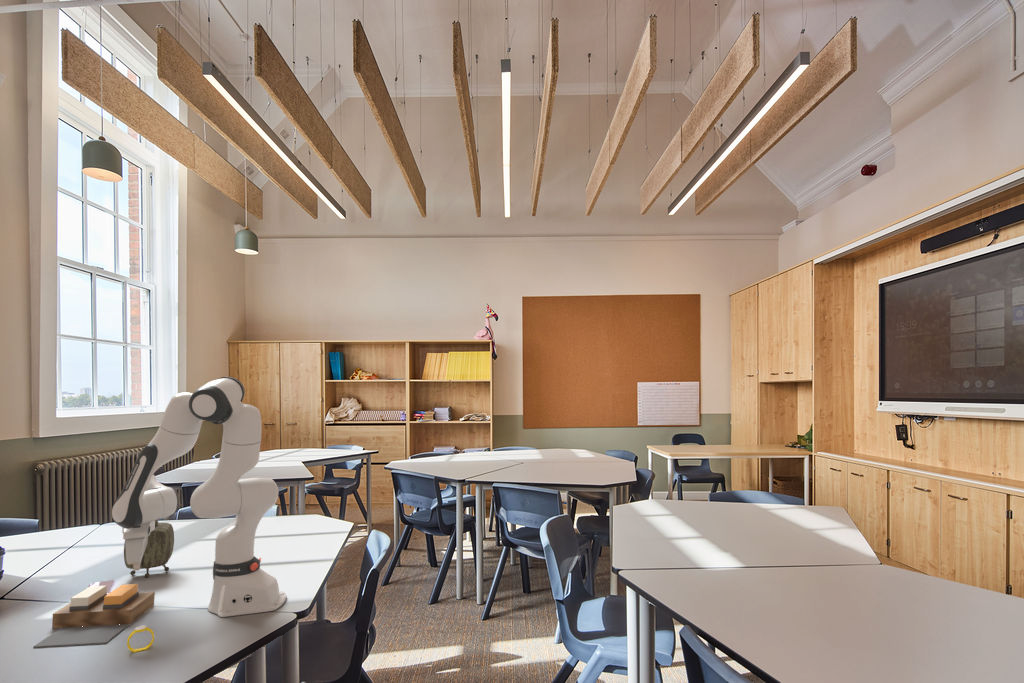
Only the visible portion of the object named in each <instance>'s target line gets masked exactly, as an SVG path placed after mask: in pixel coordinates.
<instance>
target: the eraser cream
mask: <svg viewBox="0 0 1024 683" xmlns="http://www.w3.org/2000/svg"><path fill="white" fill-rule="evenodd" d="M106 592H107V585H105V586H90V587H88V586H87V588H85V589H84V590H82V591H80V592H78V593H77V594H75V595H74V596H72V597H70V603H71V606H70V607H69V611H81V610H89V609H90V608H92V607H93V606H95V605H96V604H98V603H99V602H101V601H102V600H104V596H106V595H107V593H106Z"/></svg>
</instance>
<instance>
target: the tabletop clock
mask: <svg viewBox="0 0 1024 683" xmlns="http://www.w3.org/2000/svg"><path fill="white" fill-rule="evenodd" d="M125 542H126V539H124V546H123V561H124V565H125V567H126V569H130V570H131V571H130V573H129V574H130V575H131V576H134V575H135V574H136V571H134V570H133V564H127V560H126V544H125ZM174 546H175V531H174V527H173V525H172V523H169V522H159V521H158V520H155V529H154V530H153V531H151V532H150V535H149V536H148V542H147V546H146V549H145V552H144V554H143V557H142V560H141V567H140V570H143V569H144V570H146V573H144V578H146V579H148V578H150V576H151V574H150V573H149V571H150V569H153V568H158V567H163V570H164V572H168V571H169V570H170V567H169V566H166V564H167V563H168V561H170V559H171V557H172V555H173V552H174V548H175V547H174Z"/></svg>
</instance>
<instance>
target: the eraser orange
mask: <svg viewBox="0 0 1024 683" xmlns="http://www.w3.org/2000/svg"><path fill="white" fill-rule="evenodd" d="M138 590H139V584H138V583H132V584H131V583H130V584H121V585H119V586H118V587H116V588H115V589H112V590H111V592H110V593H109V594H107V595H106V596H104V605H103V609H121V608H122V607H124V606H125V605H127V604H128V603H129V602H131V601H132V600H133V599H135V598H136V597H137V596H139V593H140V592H139V591H138Z"/></svg>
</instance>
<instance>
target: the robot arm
mask: <svg viewBox="0 0 1024 683" xmlns="http://www.w3.org/2000/svg"><path fill="white" fill-rule="evenodd" d="M245 392H246V390H245V387H244V385H243V383H242V381H240V380H239V379H237V378H235V377H231V376H222V377H219V378H217V379H213V380H210V381H208V382H207V383H204V384H203V385H202V386H200V387H198V388H197V389H195V390H194V391H193V392H187V391H186V392H179V393H177V394H175V395H173V396H172V397H171V399H170V400H169V401H168V404H167V405H166V408H165V411H164V413H163V415H162V417H161V420H160V425H159V427H158V429H157V432H156V434H154V436H153V438H152V439H151V440H150V442H149V443H148V444H146V445H145V446H144V447H143V448H142V450H141V451H140V452H139V455H138V456H137V458H136V460H135V462H134V464H133V467H132V469H131V470H130V474H129V475H128V478H127V480H126V481H125V484H124V485H123V488H122V489H121V492H120V494H119V495H118V497H117V498H116V499H115V501H114V502H113V505H112V506H111V511H110V514H111V519H112V520H113V522H114V523H115V524H116V525H118V526H120V527H121V528H122V531H121V533H122V537H123V538H122V539H123V540H125V539H126V542H125V541H124V544H126V560H127V564H133V569H132V571H133V570H134V571H135V572H136V571H139V570H141V569H140V567H141V560H142V557H143V554H144V552H145V549H146V546H147V542H148V536H149V535H150V532H151V531H153V530H154V529H155V520H157V521H158V520H160V519H161V520H162V519H163V518H164V519H165V518H167V517H170V516H173V515H174V514H175V513H176V512H177V510H178V508H179V504H180V496H179V493H178V492H177V491H176V490H175V488H173V487H172V486H166V485H164V484H163V483H161V482H160V481H158V480H157V478H156V476H155V475H154V474H155V472H156V471H157V470H159V469H160V468H161V467H162V466H163V465H166V464H168V463H169V462H172V461H173V460H175V459H177V458H180V457H182V456H185V455H186V454H188V453H189V452H190V451H191V450H192V449H193V448H194V446H196V443H197V440H198V438H199V435H200V432H201V428H202V425H203V422H204V421H205V422H209V423H212V424H214V425H222V426H223V431H222V438H221V439H222V441H221V448H220V455H219V459H218V463H217V465H216V468H215V470H214V471H213V473H211V475H210V476H209V478H207V479H206V481H204V482H203V483H201V484H200V485H198V486H197V487H196V488H195V489H194V491H193V492H192V494H191V497H190V500H189V504H190V505H189V506H190V509H191V511H192V513H193V515H194V516H196V518H199V519H218V518H226V517H232V516H235V518H234V519H233V521H232V522H231V523H230V524H229V525H227V526H226V527H224V528H223V529H221V531H219V533H218V534H217V536H216V538H215V548H214V550H215V551H214V553H215V554H214V557H215V558H214V561H213V565H212V578H213V585H212V592H211V596H210V601H209V604H208V607H207V610H208V611H209V612H210V613H212V614H216V615H217V616H218V617H219V618H224V617H225V618H226V617H227V618H228V617H233V616H241V615H250V614H258V613H267V612H272V611H273V612H274V611H275V610H277V609H279V608H280V607H282V605H283V604H284V603H285V602H286V600H287V594H286V592H285V591H280V588H279V583H278V579H277V578H276V577H274V576H272V575H271V574H269V573H268V572H266V571H265V570H264V569H262V568H261V562H262V557H259V558H257V557H256V556H255V554H254V553H255V551H254V550H255V540H256V533H257V530H258V526H259V524H260V522H261V521H262V519H263V517H264V516H265V515H266V514H267V513H268V511H269V510H270V509H272V508H273V507H274V506H275V504H276V503H277V501H278V498H279V487H278V485H277V483H276V482H275V480H274V479H272V478H269V477H248V478H242V477H243V476H244V475H245V474H246V473H248V472H251V470H253V469H254V468H255V467H256V466H257V465H258V462H259V460H260V451H261V442H262V428H263V427H262V416H261V412H260V409H259V408H258V407H257V406H254V405H252V404H248V403H246V404H245V403H243V400H244V398H245Z"/></svg>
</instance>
